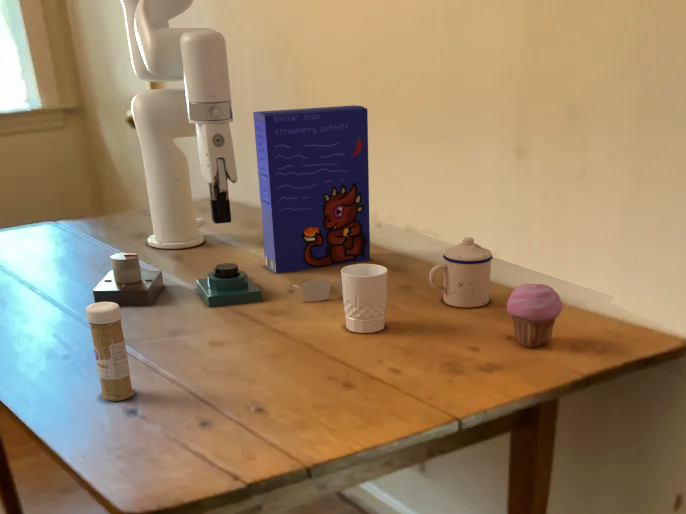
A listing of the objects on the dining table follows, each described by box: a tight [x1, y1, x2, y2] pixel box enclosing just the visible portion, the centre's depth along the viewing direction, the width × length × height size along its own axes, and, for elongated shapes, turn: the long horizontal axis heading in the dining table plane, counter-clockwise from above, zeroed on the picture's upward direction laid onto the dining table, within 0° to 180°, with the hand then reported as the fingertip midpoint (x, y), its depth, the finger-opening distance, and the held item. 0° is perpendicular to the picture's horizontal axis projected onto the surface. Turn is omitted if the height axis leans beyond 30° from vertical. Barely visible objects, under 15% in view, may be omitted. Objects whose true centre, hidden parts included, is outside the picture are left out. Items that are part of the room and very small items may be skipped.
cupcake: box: [506, 282, 563, 348], centre depth 149 cm, size 9×9×10 cm
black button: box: [213, 262, 239, 278], centre depth 171 cm, size 4×4×2 cm
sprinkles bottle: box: [85, 302, 134, 402], centre depth 129 cm, size 5×5×14 cm
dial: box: [110, 252, 142, 284], centre depth 170 cm, size 5×5×5 cm
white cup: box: [340, 263, 388, 334], centre depth 155 cm, size 8×8×10 cm
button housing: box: [195, 269, 263, 308], centre depth 172 cm, size 12×10×4 cm
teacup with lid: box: [428, 236, 493, 309], centre depth 167 cm, size 12×9×12 cm
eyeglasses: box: [290, 277, 343, 303], centre depth 174 cm, size 14×8×4 cm, turn 112°
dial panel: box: [92, 270, 165, 307], centre depth 172 cm, size 13×10×3 cm
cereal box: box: [252, 104, 371, 274], centre depth 185 cm, size 22×6×30 cm, turn 119°
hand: (222, 221), depth 166 cm, fingers closed
